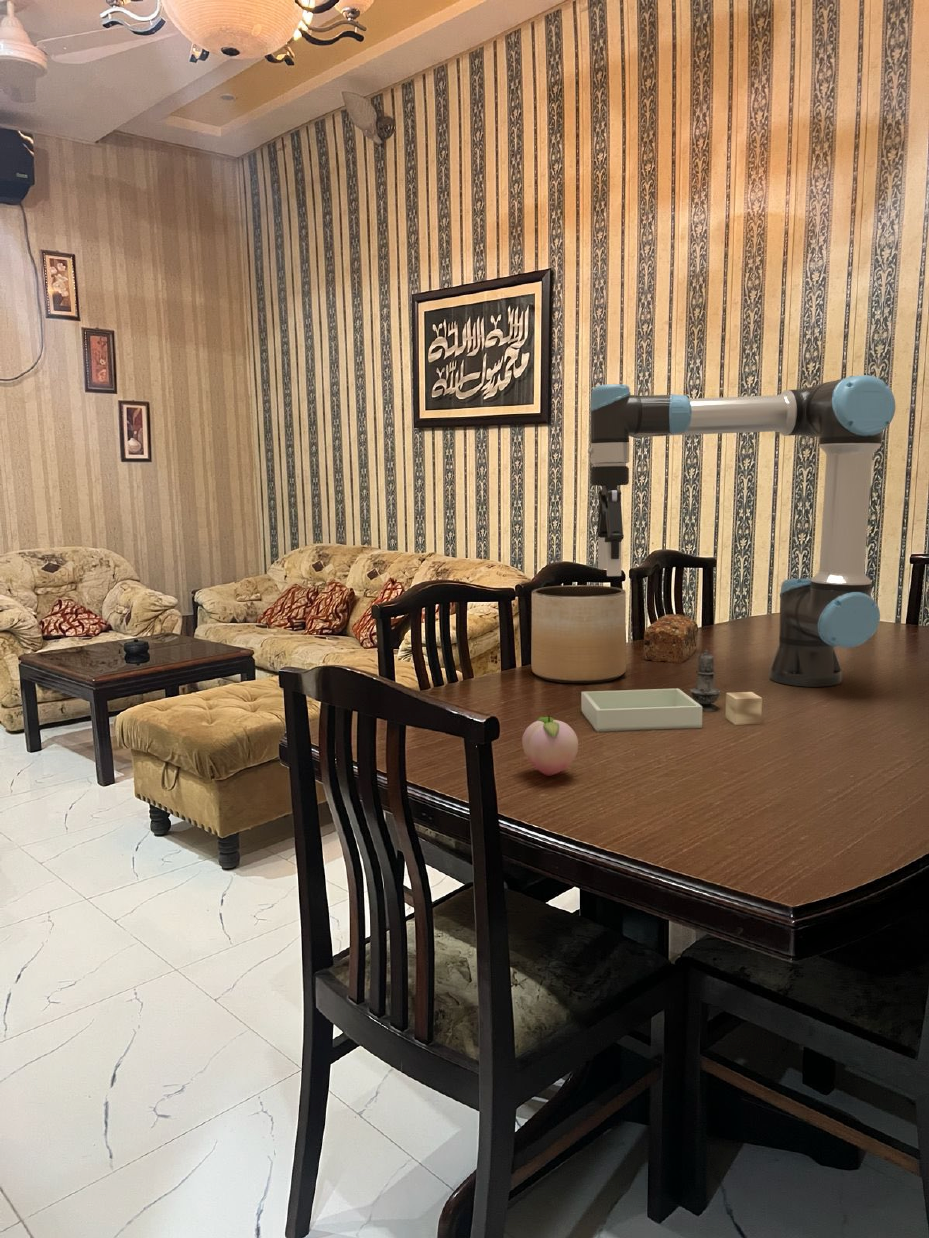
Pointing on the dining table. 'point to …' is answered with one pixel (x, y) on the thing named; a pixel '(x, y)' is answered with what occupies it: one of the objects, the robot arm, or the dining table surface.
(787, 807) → the dining table surface
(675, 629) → the bread
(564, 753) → the decorative fruit
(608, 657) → the planter
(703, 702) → the dark grey tall piece
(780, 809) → the dining table surface
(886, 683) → the dining table surface
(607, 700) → the tray
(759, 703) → the maple cube
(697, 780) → the dining table surface
